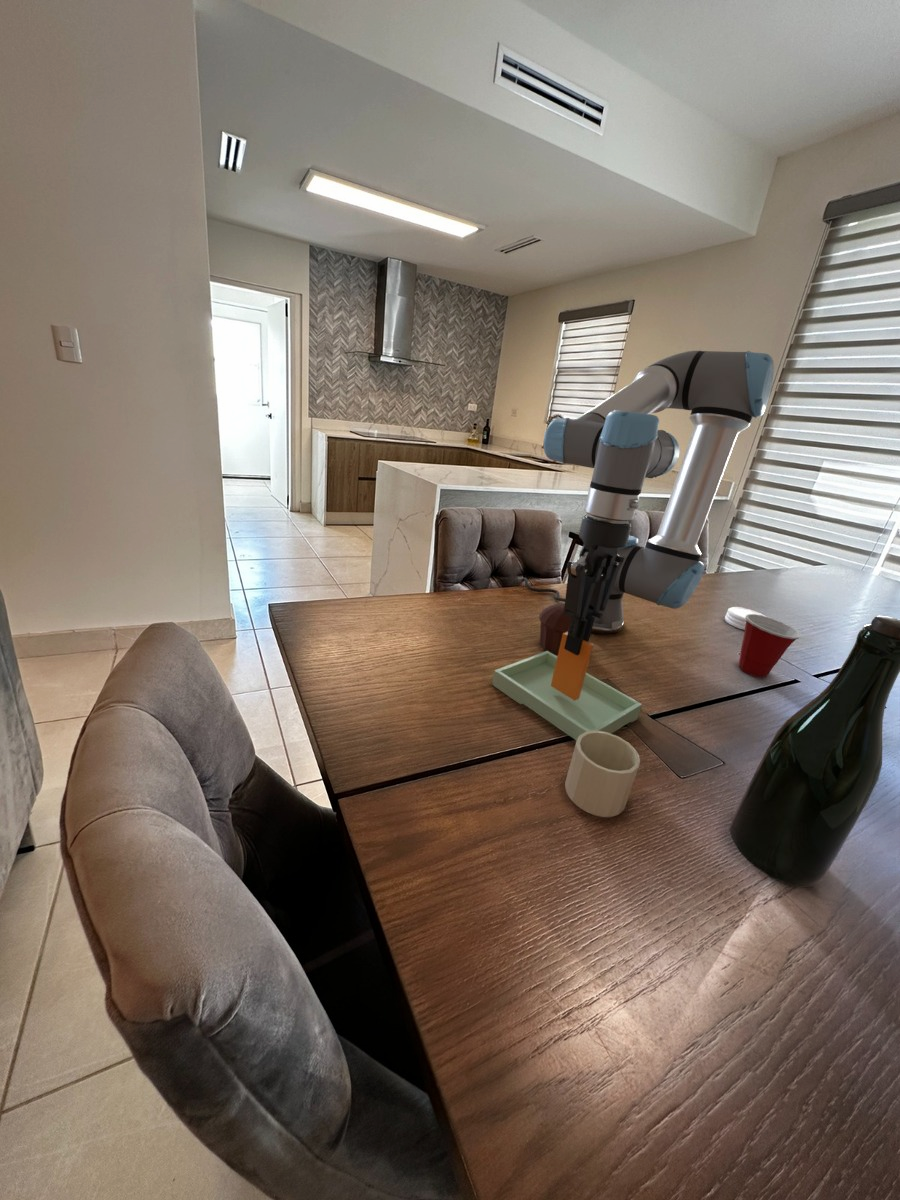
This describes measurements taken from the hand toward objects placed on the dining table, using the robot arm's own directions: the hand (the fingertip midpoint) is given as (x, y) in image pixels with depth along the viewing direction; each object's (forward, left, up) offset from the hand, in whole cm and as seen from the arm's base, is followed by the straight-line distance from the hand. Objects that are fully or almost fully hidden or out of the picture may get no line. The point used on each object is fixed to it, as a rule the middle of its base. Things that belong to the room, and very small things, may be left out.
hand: (575, 649), depth 82 cm
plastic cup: (+16, +50, -11) cm, 54 cm away
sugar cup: (+17, -15, -11) cm, 25 cm away
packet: (0, 0, -9) cm, 9 cm away
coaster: (+4, +78, -11) cm, 79 cm away
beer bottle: (+36, -3, -11) cm, 38 cm away
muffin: (-14, +17, -11) cm, 25 cm away
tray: (0, 0, -11) cm, 11 cm away
